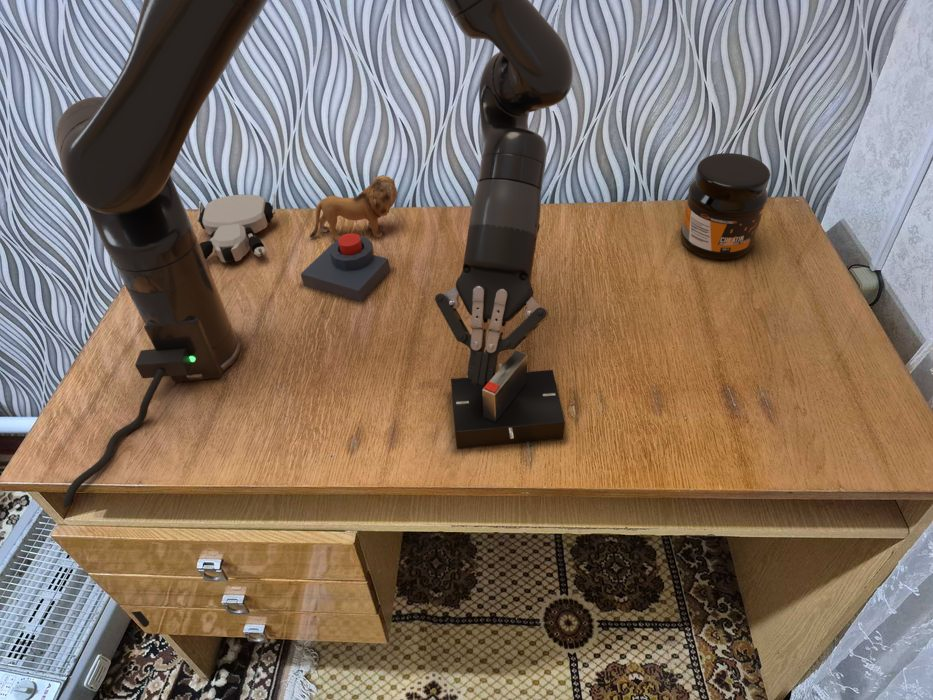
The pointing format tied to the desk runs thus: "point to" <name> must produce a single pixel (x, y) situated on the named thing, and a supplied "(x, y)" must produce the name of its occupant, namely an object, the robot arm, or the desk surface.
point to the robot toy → (235, 225)
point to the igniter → (346, 271)
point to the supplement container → (725, 205)
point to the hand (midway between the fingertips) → (479, 385)
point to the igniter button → (350, 244)
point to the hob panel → (508, 413)
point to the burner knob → (504, 385)
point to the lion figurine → (358, 206)
